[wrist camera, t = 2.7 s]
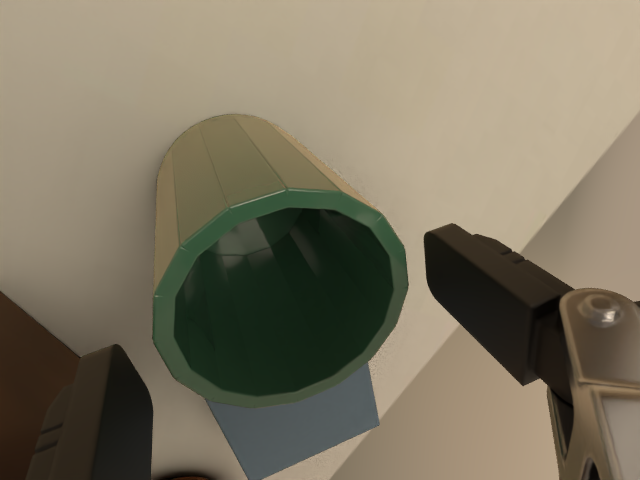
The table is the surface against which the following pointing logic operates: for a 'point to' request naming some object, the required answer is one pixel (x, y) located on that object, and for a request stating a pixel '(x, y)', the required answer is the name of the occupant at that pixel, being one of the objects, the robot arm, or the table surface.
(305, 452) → the slate block
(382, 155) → the table surface
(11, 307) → the walnut block
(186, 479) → the wooden figurine
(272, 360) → the cup
